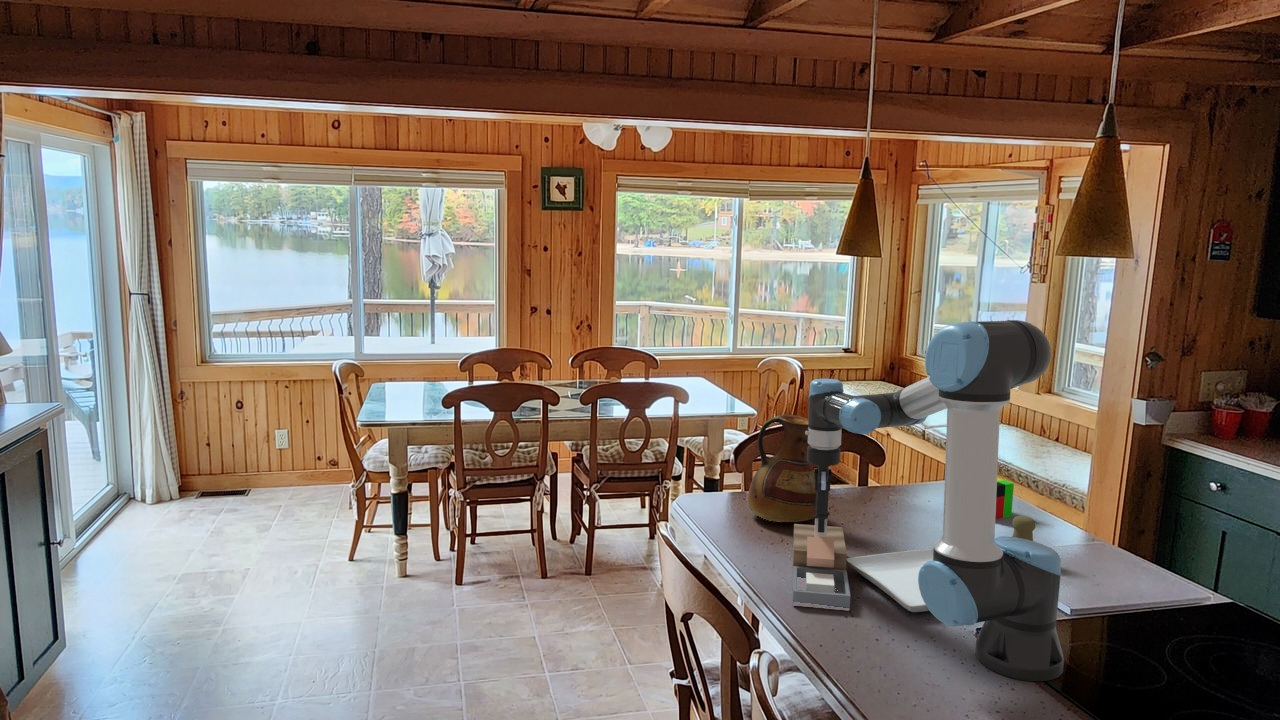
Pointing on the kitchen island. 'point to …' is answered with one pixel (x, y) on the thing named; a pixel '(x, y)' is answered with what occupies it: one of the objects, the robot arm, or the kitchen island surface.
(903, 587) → the square plate
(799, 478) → the ceramic pitcher
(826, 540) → the terracotta tile
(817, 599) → the bin
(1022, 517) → the cork
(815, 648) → the kitchen island surface
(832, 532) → the brushed bronze panel
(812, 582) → the cream tile
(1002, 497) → the puzzle toy
